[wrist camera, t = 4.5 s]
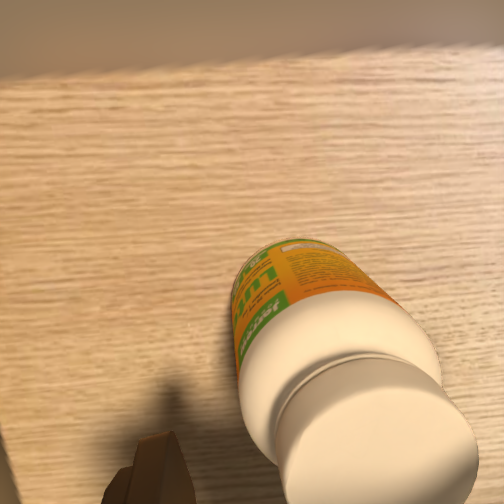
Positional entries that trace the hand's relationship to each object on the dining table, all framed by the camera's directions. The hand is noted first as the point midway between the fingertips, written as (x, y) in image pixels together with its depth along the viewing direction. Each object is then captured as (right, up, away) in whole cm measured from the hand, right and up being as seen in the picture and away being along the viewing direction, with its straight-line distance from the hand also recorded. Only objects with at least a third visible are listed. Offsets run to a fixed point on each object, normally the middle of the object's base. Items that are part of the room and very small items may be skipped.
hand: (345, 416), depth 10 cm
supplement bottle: (0, +2, +8) cm, 8 cm away
